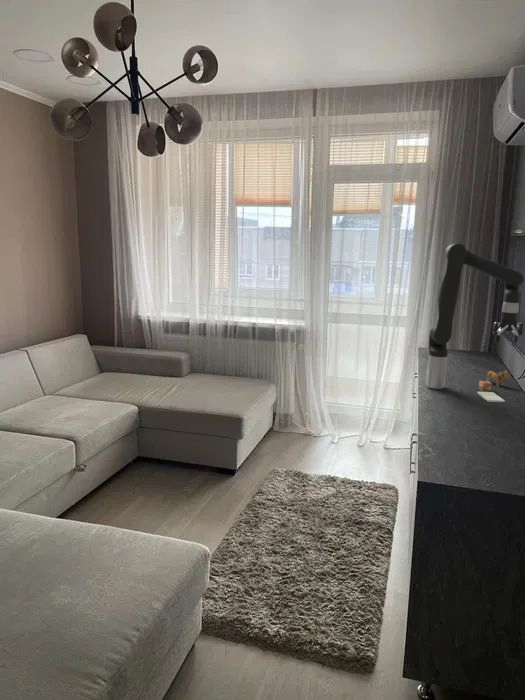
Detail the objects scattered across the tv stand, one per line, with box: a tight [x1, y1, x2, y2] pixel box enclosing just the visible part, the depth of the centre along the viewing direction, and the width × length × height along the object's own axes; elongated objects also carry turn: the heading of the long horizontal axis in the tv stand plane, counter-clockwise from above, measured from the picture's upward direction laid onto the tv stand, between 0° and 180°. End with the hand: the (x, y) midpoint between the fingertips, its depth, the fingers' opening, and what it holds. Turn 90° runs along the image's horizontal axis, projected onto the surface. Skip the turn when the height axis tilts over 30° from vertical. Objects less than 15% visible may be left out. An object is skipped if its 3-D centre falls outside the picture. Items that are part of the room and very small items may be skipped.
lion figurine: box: [482, 370, 511, 388], centre depth 276 cm, size 15×5×9 cm, turn 34°
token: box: [478, 380, 492, 392], centre depth 265 cm, size 4×4×4 cm
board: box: [476, 391, 506, 403], centre depth 253 cm, size 8×14×1 cm, turn 178°
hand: (505, 342), depth 258 cm, fingers open, 8 cm apart
